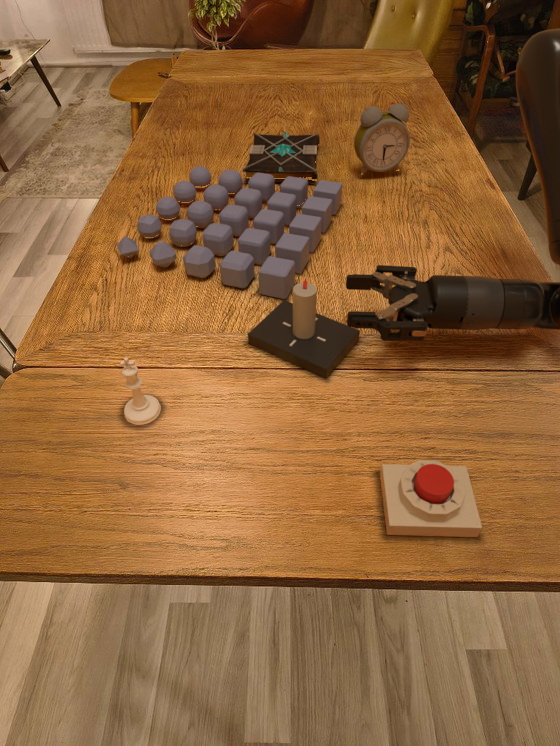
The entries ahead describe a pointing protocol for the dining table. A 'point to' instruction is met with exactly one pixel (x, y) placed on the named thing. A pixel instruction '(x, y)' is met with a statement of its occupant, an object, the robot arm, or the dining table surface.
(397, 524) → the box
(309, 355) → the panel
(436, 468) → the button
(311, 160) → the book
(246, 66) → the dining table surface
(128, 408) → the chess piece
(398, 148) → the alarm clock
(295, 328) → the knob
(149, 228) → the blocks
